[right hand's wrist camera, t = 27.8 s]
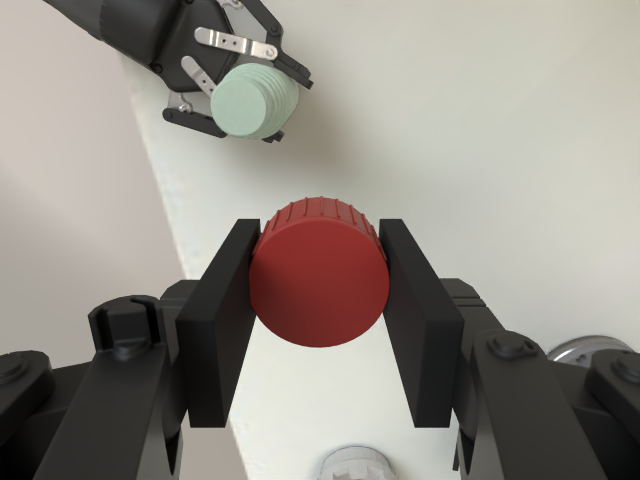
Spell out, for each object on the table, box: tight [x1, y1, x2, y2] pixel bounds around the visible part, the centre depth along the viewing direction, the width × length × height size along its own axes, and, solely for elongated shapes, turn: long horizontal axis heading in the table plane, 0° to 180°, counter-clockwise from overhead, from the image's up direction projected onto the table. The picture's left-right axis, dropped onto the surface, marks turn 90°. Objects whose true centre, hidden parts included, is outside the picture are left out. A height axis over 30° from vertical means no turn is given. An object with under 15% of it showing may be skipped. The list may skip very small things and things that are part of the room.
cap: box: [249, 196, 390, 348], centre depth 13 cm, size 4×4×2 cm
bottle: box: [210, 63, 299, 139], centre depth 32 cm, size 5×5×24 cm
